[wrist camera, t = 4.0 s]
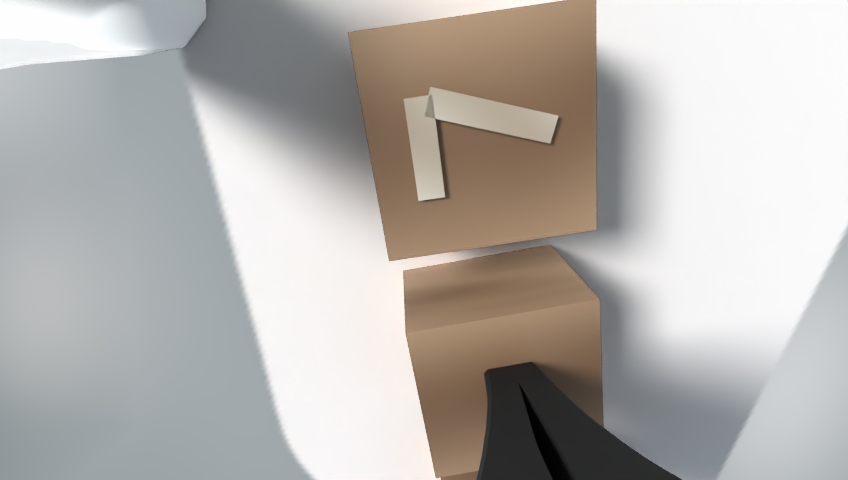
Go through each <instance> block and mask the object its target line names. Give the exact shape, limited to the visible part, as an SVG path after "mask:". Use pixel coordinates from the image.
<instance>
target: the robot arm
mask: <svg viewBox="0 0 848 480" xmlns="http://www.w3.org/2000/svg"><path fill="white" fill-rule="evenodd" d="M484 379H485V386H486V393H487V419H486V431H485V437H484V444H483V451H482V456H481V461H480V466H479V471H478V475H477V479H476V480H682V479H680V478H678V477H677V476H675V475H673V474H671V473H670V472H668V471H666V470H664V469H663V468H661V467H659V466H658V465H656V464H654V463H653V462H651V461H650V460H648V459H647V458H645V457H643V456H642V455H641V454H639V453H638V452H636V451H635V450H633V449H632V448H630V447H629V446H627V445H626V444H625V443H623V442H622V441H620V440H619V439H618V438H616V437H615V436H614V435H612V434H611V433H610V432H609V431H607V430H606V429H605V428H603V427H602V426H601V425H600V424H598V423H597V422H596V421H595V420H593V419H592V418H591V417H590V416H589V415H587V414H586V413H585V412H584V411H583V410H582V409H581V408H579V407H578V406H577V405H576V404H575V403H574V402H573V401H572V400H570V399H569V398H568V397H567V396H566V395H565V394H564V393H563V392H562V391H561V390H560V389H559V388H558V387H557V386H556V385H555V384H554V383H553V382H552V381H551V380H550V379H549V378H548V377H547V376H546V375H545V374H544V373H543V372H542V371H541V370H540V369H539V368H538V367H537V366H536V365H535V364H534V363H533V362H526V363H521V364H515V365H509V366H504V367H498V368H492V369H487V370H486V372H485V373H484Z"/></svg>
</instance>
